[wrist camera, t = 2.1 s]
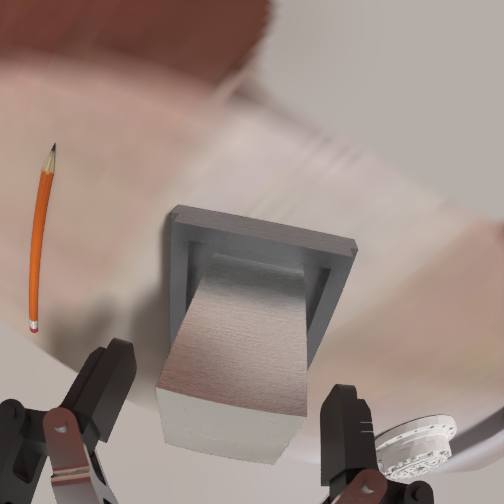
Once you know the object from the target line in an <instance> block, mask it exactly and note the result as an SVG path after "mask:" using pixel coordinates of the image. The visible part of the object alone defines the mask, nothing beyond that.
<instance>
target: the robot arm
mask: <svg viewBox="0 0 504 504" xmlns="http://www.w3.org/2000/svg"><path fill="white" fill-rule="evenodd" d="M136 368H137V367H136V360H135V355H134V349H133V344H132V343H130V342H127V341H124V340H120V339H117V338H113V339H112V340H111V342H110V344H109V345H108V347H107V349H106V348H103V347H99V348H98V349H96V350H95V351H94V352H92V353H91V354H90V355H89V357H88V359H87V360H86V362H85V364H84V366H83V367H82V369H81V370H80V373H79V374H78V376H77V378H76V379H75V381H74V383H73V384H72V386H71V388H70V390H69V392H68V393H67V395H66V397H65V399H64V401H63V402H62V404H61V405H60V406H59V407H57V408H53V409H51V410H49V411H38V410H32V409H26V408H24V407H23V405H22V404H21V403H20V402H19V401H17V400H15V399H7V400H5V401H3V402H2V403H1V404H0V504H31V501H32V498H33V495H34V492H35V489H36V486H37V483H38V481H39V478H40V475H41V472H42V469H43V467H44V464H45V461H46V459H47V456H49V457H50V461H51V465H52V469H53V475H52V476H51V485H52V488H53V492H54V495H55V498H56V501H57V504H118V502H117V499H116V498H115V496H114V494H113V492H112V491H111V489H110V487H109V485H108V482H107V480H106V477H105V474H104V472H103V469H102V466H101V463H100V460H99V458H98V455H97V451H96V448H95V447H96V445H97V442H98V440H100V441H103V442H105V443H107V441H108V438H109V436H110V434H111V431H112V429H113V426H114V424H115V422H116V419H117V417H118V415H119V412H120V410H121V408H122V405H123V403H124V401H125V399H126V396H127V394H128V392H129V390H130V387H131V385H132V383H133V381H134V378H135V375H136ZM320 433H321V486H330V493H329V494H328V495H327V496H326V497H325V498H324V499H323V500H322V502H321V503H320V504H434V497H433V491H432V488H431V486H430V485H429V484H428V483H426V482H424V481H415V482H413V483H411V484H409V485H408V484H404V483H399V482H395V481H391V480H389V479H387V478H385V476H384V475H383V474H382V473H381V472H380V471H379V469H378V465H377V457H376V448H375V440H374V433H373V425H372V418H371V411H370V409H369V407H368V405H367V403H366V402H365V400H364V399H357V391H356V388H355V386H353V385H341V384H336V385H335V386H334V387H333V389H332V390H331V392H330V393H329V395H328V396H327V398H326V400H325V401H324V403H323V405H322V407H321V412H320Z"/></svg>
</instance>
